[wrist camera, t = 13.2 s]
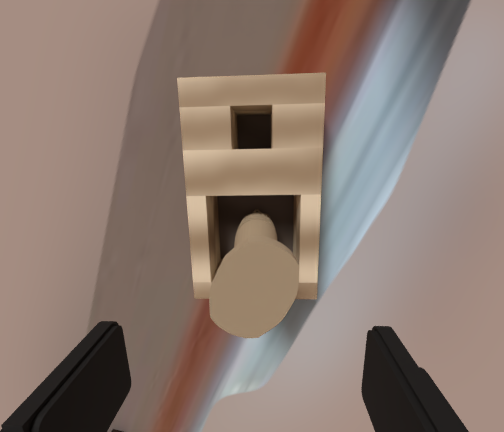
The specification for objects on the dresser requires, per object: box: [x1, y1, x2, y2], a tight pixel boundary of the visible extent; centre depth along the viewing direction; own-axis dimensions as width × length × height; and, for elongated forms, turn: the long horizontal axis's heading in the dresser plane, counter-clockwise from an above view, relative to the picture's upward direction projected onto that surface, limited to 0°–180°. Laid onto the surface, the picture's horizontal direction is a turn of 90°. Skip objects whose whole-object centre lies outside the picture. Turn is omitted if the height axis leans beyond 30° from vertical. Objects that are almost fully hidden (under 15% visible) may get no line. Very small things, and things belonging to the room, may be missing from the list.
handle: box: [209, 210, 299, 338], centre depth 23 cm, size 5×6×15 cm
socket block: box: [177, 73, 326, 299], centre depth 27 cm, size 20×12×6 cm, turn 1°
